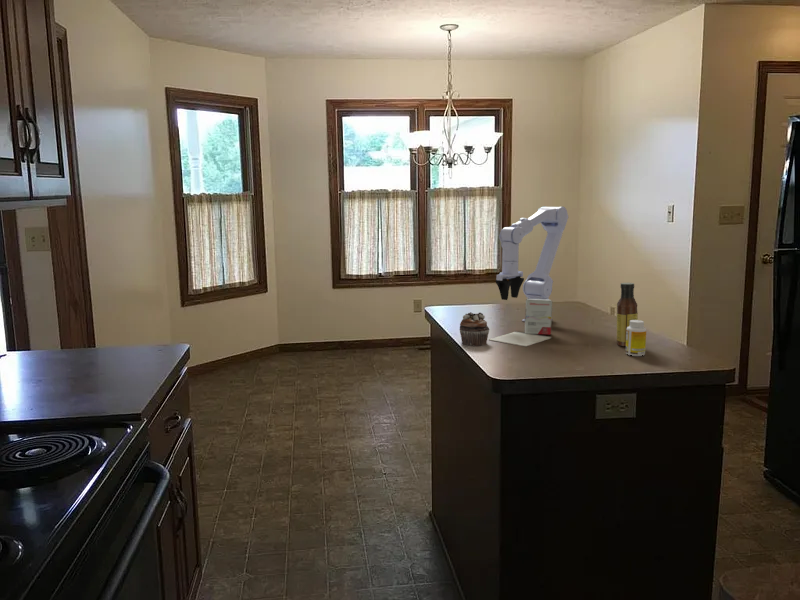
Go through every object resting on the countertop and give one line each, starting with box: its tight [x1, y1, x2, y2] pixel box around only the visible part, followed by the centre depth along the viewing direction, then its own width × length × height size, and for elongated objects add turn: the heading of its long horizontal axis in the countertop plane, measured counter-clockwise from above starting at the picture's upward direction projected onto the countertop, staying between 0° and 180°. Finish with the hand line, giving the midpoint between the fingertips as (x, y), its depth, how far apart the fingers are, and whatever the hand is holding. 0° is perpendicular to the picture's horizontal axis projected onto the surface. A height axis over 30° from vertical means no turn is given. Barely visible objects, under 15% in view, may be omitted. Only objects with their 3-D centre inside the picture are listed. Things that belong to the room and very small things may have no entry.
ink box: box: [524, 298, 553, 336], centre depth 222 cm, size 9×5×12 cm, turn 84°
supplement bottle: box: [625, 319, 647, 357], centre depth 192 cm, size 6×6×10 cm
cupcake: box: [459, 312, 490, 347], centre depth 208 cm, size 10×10×10 cm
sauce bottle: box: [616, 282, 639, 348], centre depth 203 cm, size 7×6×20 cm
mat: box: [488, 331, 553, 347], centre depth 214 cm, size 16×14×1 cm
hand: (509, 298), depth 233 cm, fingers open, 6 cm apart
